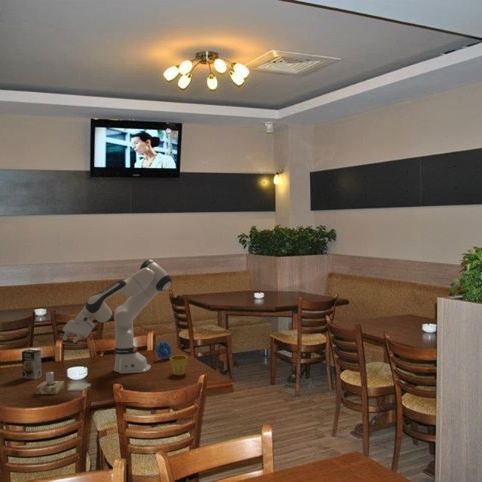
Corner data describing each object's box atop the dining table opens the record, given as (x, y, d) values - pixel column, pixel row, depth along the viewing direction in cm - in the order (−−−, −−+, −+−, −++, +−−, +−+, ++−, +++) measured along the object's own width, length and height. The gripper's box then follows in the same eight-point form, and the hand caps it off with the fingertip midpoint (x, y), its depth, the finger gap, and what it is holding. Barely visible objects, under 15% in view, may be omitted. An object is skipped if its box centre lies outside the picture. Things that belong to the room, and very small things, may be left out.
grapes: (158, 362, 374) (157, 343, 373) (154, 359, 380) (153, 341, 379) (174, 359, 380) (174, 341, 379) (170, 357, 385) (170, 339, 385)
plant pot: (187, 375, 342) (187, 359, 341) (169, 376, 341) (169, 360, 341) (187, 370, 352) (187, 354, 352) (170, 371, 352) (170, 355, 351)
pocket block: (64, 387, 326) (64, 381, 325) (56, 393, 314) (56, 387, 314) (44, 387, 326) (44, 381, 326) (36, 393, 315) (35, 387, 315)
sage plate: (91, 385, 328) (91, 383, 328) (85, 391, 318) (85, 389, 318) (73, 385, 329) (73, 383, 328) (67, 391, 319) (67, 389, 318)
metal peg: (55, 389, 322) (54, 371, 321) (52, 391, 318) (51, 373, 317) (48, 389, 322) (47, 371, 322) (45, 391, 318) (44, 373, 318)
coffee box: (22, 378, 345) (21, 351, 344) (29, 375, 351) (28, 348, 350) (34, 379, 342) (33, 352, 341) (42, 376, 348) (41, 349, 347)
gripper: (69, 315, 339) (54, 334, 332) (90, 319, 326) (76, 340, 319) (75, 321, 343) (61, 341, 336) (97, 326, 330) (83, 346, 323)
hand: (68, 340), depth 328 cm, fingers open, 8 cm apart
